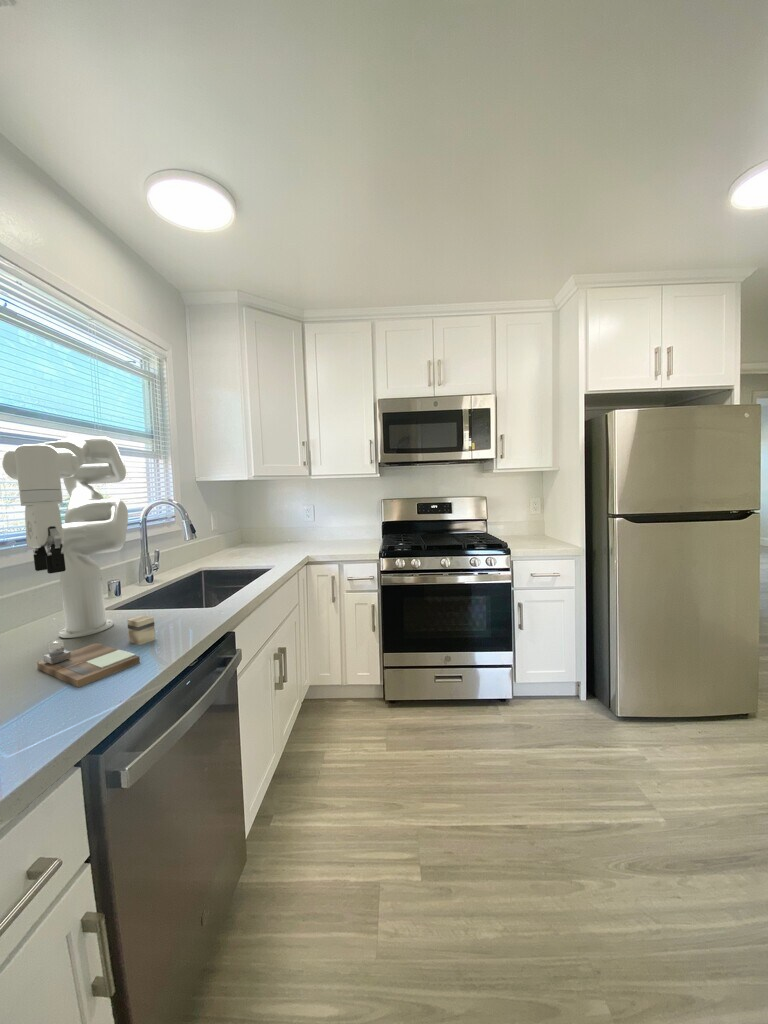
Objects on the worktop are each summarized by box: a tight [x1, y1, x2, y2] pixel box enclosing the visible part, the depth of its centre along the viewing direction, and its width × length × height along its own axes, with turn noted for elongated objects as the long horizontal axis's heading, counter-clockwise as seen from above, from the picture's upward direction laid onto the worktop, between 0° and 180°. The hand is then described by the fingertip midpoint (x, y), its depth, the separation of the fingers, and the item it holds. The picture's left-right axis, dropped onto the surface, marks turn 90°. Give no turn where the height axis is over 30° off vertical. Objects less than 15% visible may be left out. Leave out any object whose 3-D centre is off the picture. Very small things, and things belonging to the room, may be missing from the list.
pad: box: [86, 649, 137, 668], centre depth 90 cm, size 7×7×1 cm
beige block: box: [126, 614, 156, 646], centre depth 104 cm, size 5×4×6 cm
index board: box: [36, 642, 141, 688], centre depth 90 cm, size 20×12×2 cm, turn 59°
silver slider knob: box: [42, 639, 71, 664], centre depth 90 cm, size 4×4×4 cm
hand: (50, 571), depth 94 cm, fingers open, 9 cm apart
